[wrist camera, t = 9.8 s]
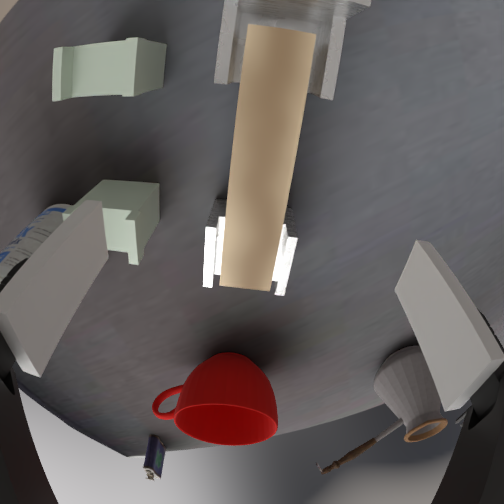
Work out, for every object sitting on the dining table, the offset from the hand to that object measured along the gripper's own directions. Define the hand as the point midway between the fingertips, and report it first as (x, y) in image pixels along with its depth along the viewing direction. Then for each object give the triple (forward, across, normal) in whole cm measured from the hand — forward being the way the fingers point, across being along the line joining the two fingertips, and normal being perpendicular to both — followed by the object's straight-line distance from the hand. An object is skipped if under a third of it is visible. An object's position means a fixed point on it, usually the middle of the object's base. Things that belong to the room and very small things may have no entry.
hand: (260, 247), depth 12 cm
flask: (+17, +15, +67) cm, 71 cm away
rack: (+16, +12, 0) cm, 20 cm away
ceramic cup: (+17, +2, +31) cm, 35 cm away
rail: (+13, 0, 0) cm, 13 cm away
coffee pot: (+17, -22, +30) cm, 41 cm away
